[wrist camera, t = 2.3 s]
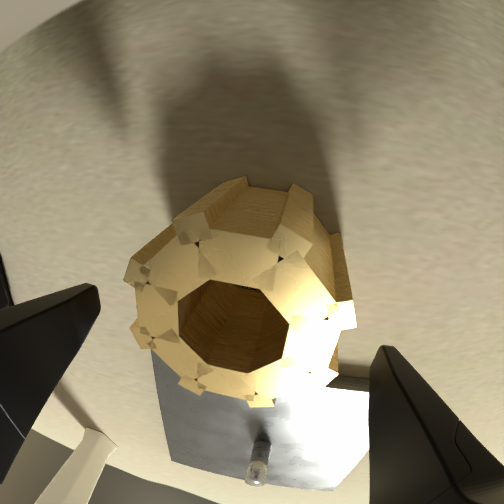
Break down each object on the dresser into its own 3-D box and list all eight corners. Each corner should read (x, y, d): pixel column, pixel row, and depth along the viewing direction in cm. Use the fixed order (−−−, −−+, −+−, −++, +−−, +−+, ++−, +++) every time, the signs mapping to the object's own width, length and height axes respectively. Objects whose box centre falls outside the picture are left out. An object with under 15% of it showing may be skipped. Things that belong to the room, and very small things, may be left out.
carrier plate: (175, 452, 22) (159, 487, 19) (158, 338, 16) (125, 387, 13) (333, 481, 21) (330, 519, 17) (404, 382, 15) (416, 439, 11)
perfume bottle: (90, 422, 24) (22, 532, 10) (124, 448, 25) (66, 558, 11) (77, 427, 26) (16, 523, 12) (108, 451, 26) (54, 548, 13)
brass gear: (183, 307, 15) (138, 377, 11) (186, 168, 12) (117, 199, 8) (321, 334, 14) (318, 418, 10) (356, 194, 11) (383, 243, 7)
